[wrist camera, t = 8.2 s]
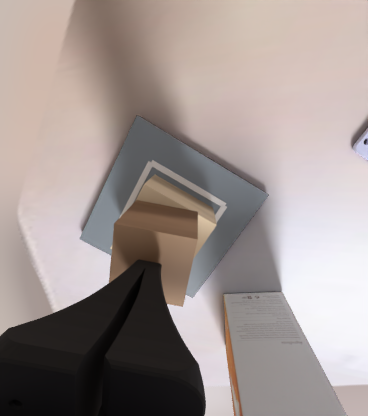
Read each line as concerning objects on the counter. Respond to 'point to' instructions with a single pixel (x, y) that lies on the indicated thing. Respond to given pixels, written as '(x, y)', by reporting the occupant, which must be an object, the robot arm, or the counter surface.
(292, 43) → the counter surface
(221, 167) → the board
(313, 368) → the small box
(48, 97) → the counter surface
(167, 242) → the walnut block
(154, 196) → the maple block
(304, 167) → the counter surface
